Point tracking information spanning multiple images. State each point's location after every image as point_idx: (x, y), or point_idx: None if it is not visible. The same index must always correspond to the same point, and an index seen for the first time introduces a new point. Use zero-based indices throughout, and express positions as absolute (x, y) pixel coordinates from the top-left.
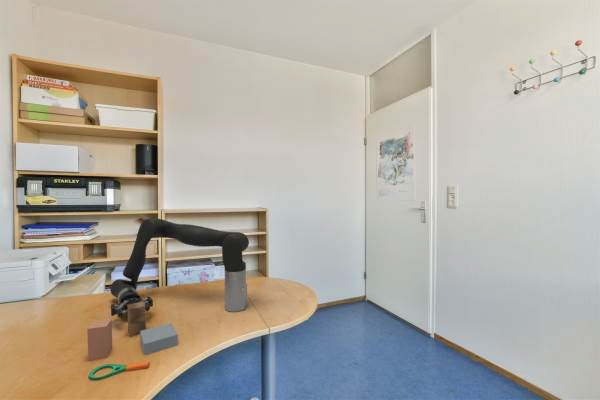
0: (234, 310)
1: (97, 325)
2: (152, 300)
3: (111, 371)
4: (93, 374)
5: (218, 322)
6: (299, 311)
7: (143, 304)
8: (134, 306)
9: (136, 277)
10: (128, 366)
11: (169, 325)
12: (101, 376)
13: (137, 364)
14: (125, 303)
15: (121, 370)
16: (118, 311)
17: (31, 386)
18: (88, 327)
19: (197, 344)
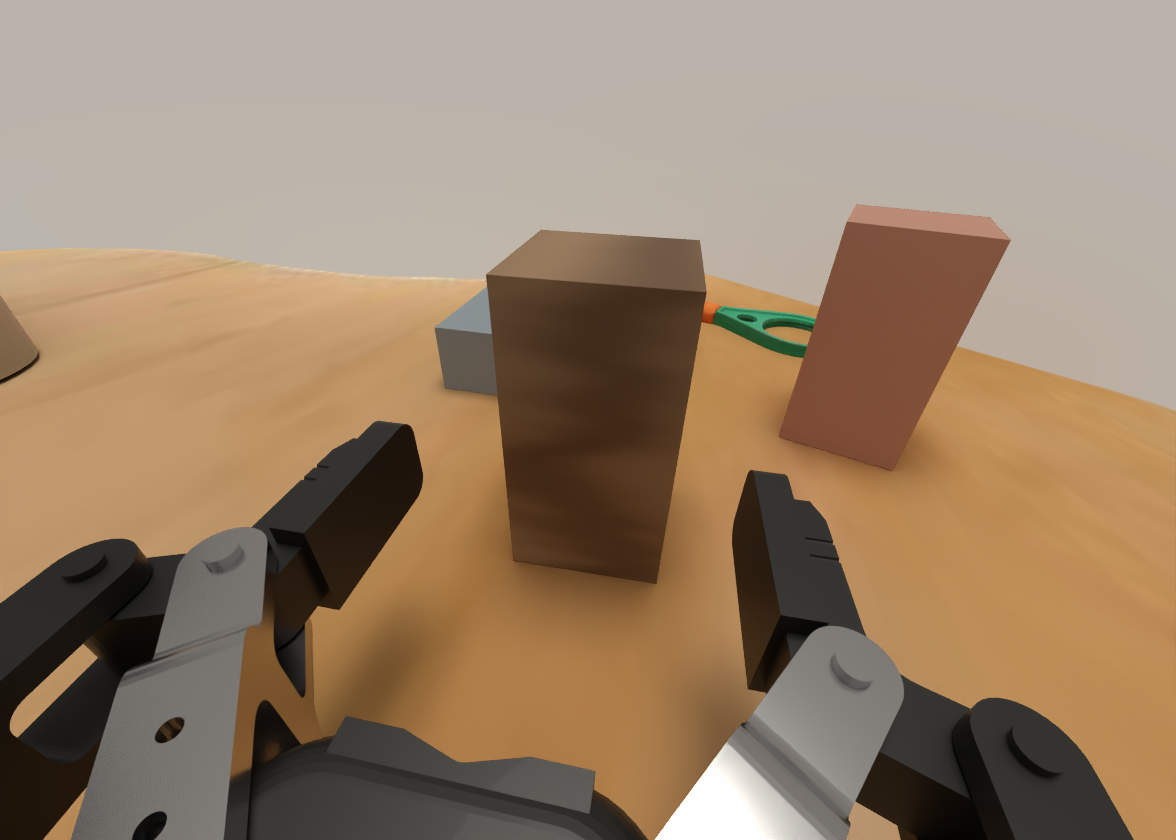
0: (31, 342)
1: (930, 216)
2: (97, 543)
3: (766, 318)
4: None
5: (231, 337)
6: (45, 257)
7: (535, 243)
8: (635, 249)
9: None
10: (712, 304)
11: (466, 316)
12: (797, 314)
13: None
14: (662, 831)
15: (733, 311)
16: (824, 572)
17: (1088, 401)
18: (992, 220)
19: (460, 300)
